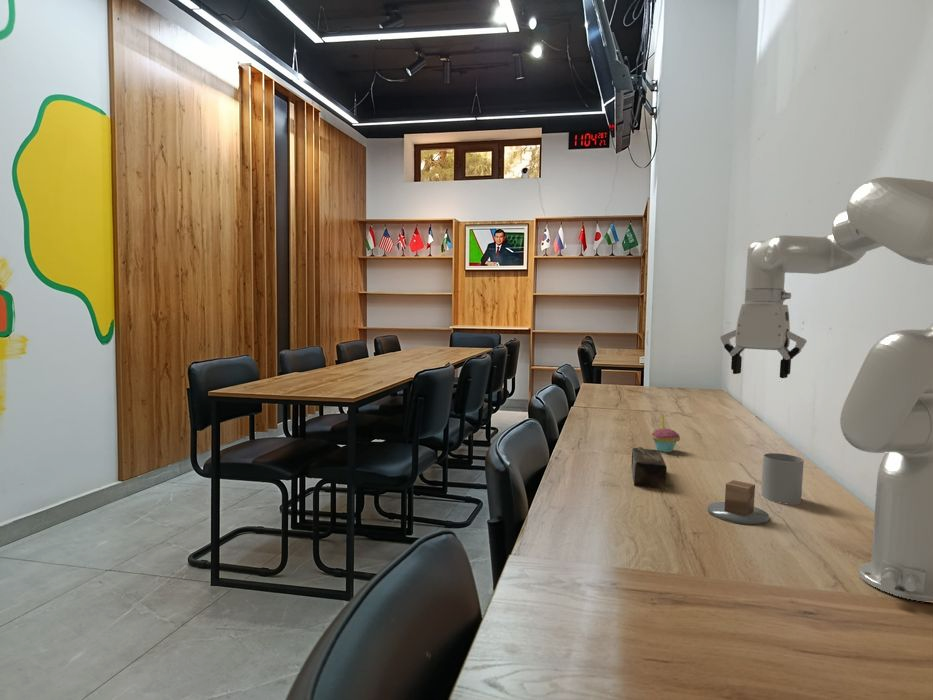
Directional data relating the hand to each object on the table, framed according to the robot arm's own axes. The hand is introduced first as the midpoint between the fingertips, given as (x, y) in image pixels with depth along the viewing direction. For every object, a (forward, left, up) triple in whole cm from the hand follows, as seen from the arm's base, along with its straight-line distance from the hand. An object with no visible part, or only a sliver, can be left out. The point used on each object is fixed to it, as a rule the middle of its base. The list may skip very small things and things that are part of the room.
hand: (759, 375), depth 125 cm
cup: (+14, -2, -31) cm, 34 cm away
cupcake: (+39, +39, -31) cm, 63 cm away
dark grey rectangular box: (+6, +28, -31) cm, 42 cm away
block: (-6, +1, -30) cm, 30 cm away
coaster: (-6, +1, -30) cm, 31 cm away
